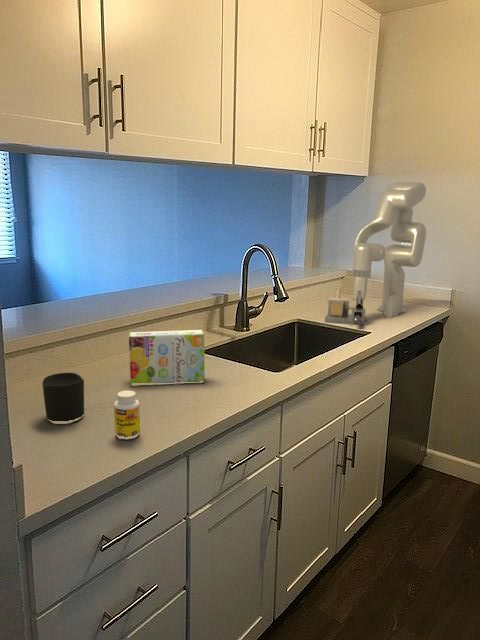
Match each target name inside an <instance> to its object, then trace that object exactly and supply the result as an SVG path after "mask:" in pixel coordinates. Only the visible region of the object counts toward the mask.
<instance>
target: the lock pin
mask: <svg viewBox="0 0 480 640" xmlns="http://www.w3.org/2000/svg"><path fill="white" fill-rule="evenodd" d="M360 318H362V312H355V318H354V320H353V322H354V324H358V323H359V321H360Z"/></svg>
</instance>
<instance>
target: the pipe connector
mask: <svg viewBox="0 0 480 640" xmlns="http://www.w3.org/2000/svg"><path fill="white" fill-rule="evenodd" d="M326 299H327V300H326V301H327V302H329V300H334V301H347V302H349V303H350V297H349V298H348V297H341V289H336V296H335V297H327V298H326Z"/></svg>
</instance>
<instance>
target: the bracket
mask: <svg viewBox="0 0 480 640" xmlns="http://www.w3.org/2000/svg"><path fill="white" fill-rule="evenodd" d="M332 302H333V300H329V301H328V309H327V314H326V315H325V316H324V323H329V324H330V323H331V324H341V325H342V324H343V325H354V326H355V325H356V326H365V323H366V318H367V316H366V308H364V307H363V308H356V307H352V310H351V314H349V313H350V312H349V311H350V301H349V302H347V301H344V316H342V317H331V303H332ZM355 312H362V318H360V321H359V323H358V324H354V322H353V320H354V318H355Z"/></svg>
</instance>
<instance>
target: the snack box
mask: <svg viewBox="0 0 480 640" xmlns="http://www.w3.org/2000/svg"><path fill="white" fill-rule="evenodd" d="M128 353H129V354H128V356H129V378H130V385H131V384H132V383H175V382H177V383H178V382H200V381H204V382H205V333H204V331H203V330H202V329H192V330H191V329H190V330H189V329H187V330H160V331H159V330H158V331H154V330H153V331H134V332H133V331H132V332H131V331H130V332H128Z"/></svg>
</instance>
